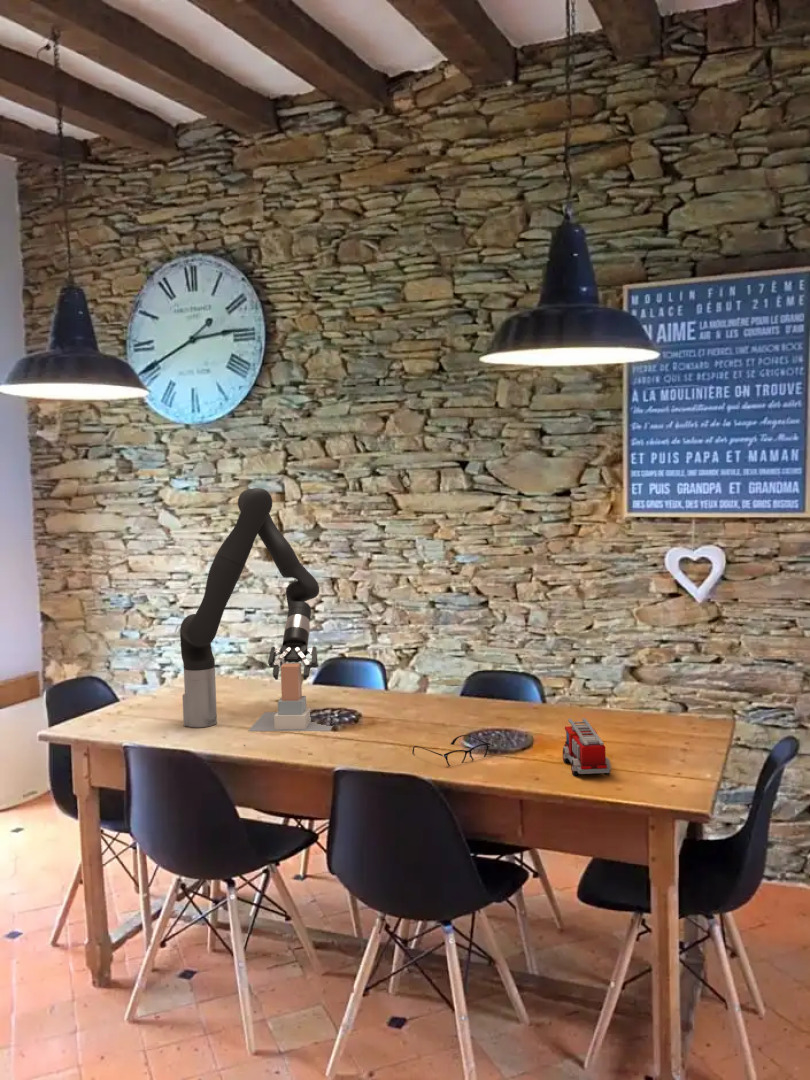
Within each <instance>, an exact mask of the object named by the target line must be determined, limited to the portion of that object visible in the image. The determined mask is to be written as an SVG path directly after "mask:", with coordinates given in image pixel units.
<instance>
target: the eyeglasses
mask: <svg viewBox="0 0 810 1080" xmlns="http://www.w3.org/2000/svg"><path fill="white" fill-rule="evenodd" d="M462 737H468V738H469V737H470V738H471V739H474V740H477V741H479V742H481V743H480V744H478V745H476V746H473V747H471V748H470V749H467V750H465V749H457V750H456V749H455V750H452V751H449V752H446V753H444V754H441V753H438V752H437V751H433V750H430V749H428V748H424V747H421V746H418V745H415V746H413V747H412V755H414V754H415V748H419V749H422V750H425V751H428V752H430V753H433V754H435V755H438V756H441V757H443V758H445V762H446V764H447V766H452V765H451V764H450V763H449V761H448V760H449V759H448V756H449V755H450V754H453V753H457V752H464V755H463V758H462V761H461V764H463V763H464V762H465V760H466V757H467V756H468V757H469V758H471V760H472V761H475V759H474V758H473V756H472V751H473V750H475V749H477V748H478V747H481V746H486V749H485V752H484V755H483V758H485V757H486V756H487V754H488V750H489V748H490V746H491V744H490V743H489V742H485V741H483V740H481V739H478V738H477V737H473V736H471V735H469V734H468V735H467V734H463V735H458V736H457V737H455V738H454V739H453V740H452V741H451V742H450V745H455V743H456V741H457V740H458V739H459V738H462ZM467 754H468V755H467Z"/></svg>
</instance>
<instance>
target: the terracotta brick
mask: <svg viewBox="0 0 810 1080" xmlns="http://www.w3.org/2000/svg"><path fill="white" fill-rule="evenodd" d="M280 680H281V681H280V682H281V683H280V686H281V697H282V701H299V700H300V698H301V697H302V696H303V692H302V691H303V689H302V687H303V685H302V683H303V682H302V662H301V663H300V662H299V663H295V662H292V663H288V662H287V663H284V664H283V665H282V666H281V667H280Z"/></svg>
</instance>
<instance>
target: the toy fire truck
mask: <svg viewBox="0 0 810 1080" xmlns="http://www.w3.org/2000/svg"><path fill="white" fill-rule="evenodd" d="M568 723H569V724H570V726H564V731H565V732H566V733H565V736H566V739H565V742H564V745H563V748H562V760H563V763H564V764H569V763H570V765H571V775H572V776H579V775H585V774H587V775H589V774H604V775H610V774H611V770H612V767H611V761H610V759H609V758H608V757H607V756H606V745H605V743H604V742H603V740H602V739H601V737H599V735H598V732H597V730H595V728H593V727H592V725H591V724H590V722H589V721H588V720H587V719H586V718H582V721H573V719H572V718H568Z"/></svg>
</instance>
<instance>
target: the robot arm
mask: <svg viewBox="0 0 810 1080" xmlns="http://www.w3.org/2000/svg"><path fill="white" fill-rule="evenodd" d="M237 506H238V510H239V512H240V513H239V515H238V517H237V521H236V523H235V525H234V527H233V528H232V530H231V531H230V533H229V534H228V535H227V537H226V538H225V540H224V541H223V542H222V544H220V547H219V549H218V550H217V552H216V553H215V556H214V558H213V560H212V563H211V565H210V567H209V570H208V574H207V577H206V578H207V579H206V585H205V591H204V595H203V598H202V600H201V603H200V605H199V607H198V608H197V611H196V612H195V613H191V614H189V615H187V616H186V617H184V618H183V620H182V621H181V624H180V627H179V628H180V630H179V637H180V654H181V659H182V664H183V683H184V684H183V686H184V693H183V694H182V717H183V718H182V719H183V727H190V728H206V727H211V726H214V725H216V724H217V723H218V713H217V711H218V710H217V686H216V685H217V684H216V663H215V662H216V661H215V656H214V654H213V651H212V642H213V641H214V640H215V638H216V636H217V633H218V630H219V627H220V624H221V621H222V617H223V615H224V611H225V609H226V606H227V604H228V603H229V600H230V599H231V596H232V595H233V592H234V590H235V588H236V585H237V584H238V581H239V579H240V577H241V575H242V572H243V570H244V568H245V565H246V563H247V560H248V559H249V556H250V553H251V551H252V548H253V546H254V543H255V541H256V538H257V536H258V537H259V538H260V539H261V542H262V543H263V545H264V547H265V548H266V549H267V551H268V555H270V557H271V559H272V561H273V562H274V565H275V566H276V568H277V570H278V572H279V573H280V575H281V576H282V577H283V578H285V579H288V578H294V579H295V580H296V581H292V582H290V583H289V584H288V585H287V587H286V590H285V597H286V602H287V603H286V604H287V608H288V609H287V610H288V611H287V618H286V622H285V625H284V632H283V639H282V646H281V647H280V648H276V647H275V646H272V647H271V648H270V651H269V655H268V660H267V662H268V663H267V664H268V666H269V668H270V669H272V668H273V669H272V677H273V679H274V680H279V674H280V669H281V666H282V665H283V664H284V663H300V662H301V665H303V666H304V667H303V672H302V673H303V674H302V677H303V680H307V679H308V678H309V677H310V673H311V671H310V670H311V668H315V669H316V668H317V666H318V649H317V646H313V647H311V648H308V646H309V636H310V633H311V632H310V629H311V628H310V627H311V616H312V615H311V614H312V608H311V605H310V604H309V603H308V602H307V601H311V600H313V599H315V598H317V596H319V594H320V585H319V583H318V581H317V580H316V578H315V577H314V576H313V575H312V574H311V573H310V572H309V571H308V570H307V568H305V566H304V565H303V564H302V563H301V562H300V559H299V557H298V556H297V554H296V552H295V551H294V549H293V547H292V546H291V544H290V543H289V541H288V540H287V539H286V537H285V536H284V535H283V534H282V532H281V531H280V530H279V528H278V527H277V526H276V524H275V522H274V521H273V518H272V517H271V515H270V513H271V510H272V507H273V499H272V495H271V494H270V492H269V491H268V490H267V489H264V488H262V487H261V488H260V487H255V488H248V489H246V490H243V491H242V492H241V493H240V494H239V496H238V499H237ZM279 654H280V655H279ZM308 654H310V656H311V661H309V660H308V658H306V656H307V655H308ZM276 657H278V658H277V659H276Z"/></svg>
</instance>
